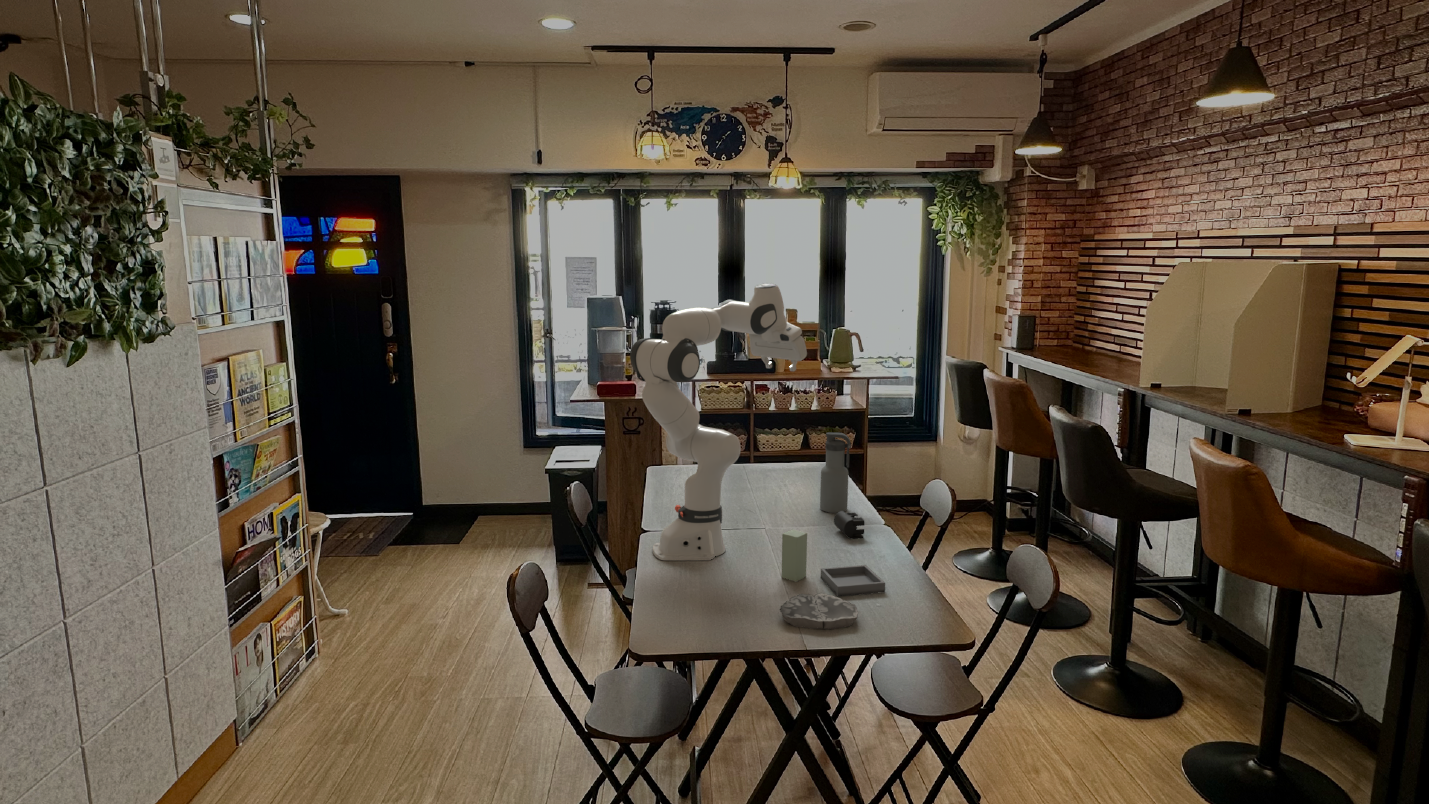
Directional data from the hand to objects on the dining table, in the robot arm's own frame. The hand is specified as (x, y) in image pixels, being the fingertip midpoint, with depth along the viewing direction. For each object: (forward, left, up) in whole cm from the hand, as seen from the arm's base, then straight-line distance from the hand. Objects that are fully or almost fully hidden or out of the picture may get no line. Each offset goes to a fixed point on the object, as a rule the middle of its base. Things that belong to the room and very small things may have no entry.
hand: (781, 369), depth 278 cm
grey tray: (+4, -56, -53) cm, 77 cm away
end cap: (+19, -15, -54) cm, 59 cm away
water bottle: (+24, +12, -53) cm, 60 cm away
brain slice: (-12, -74, -54) cm, 92 cm away
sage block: (-10, -47, -53) cm, 72 cm away
